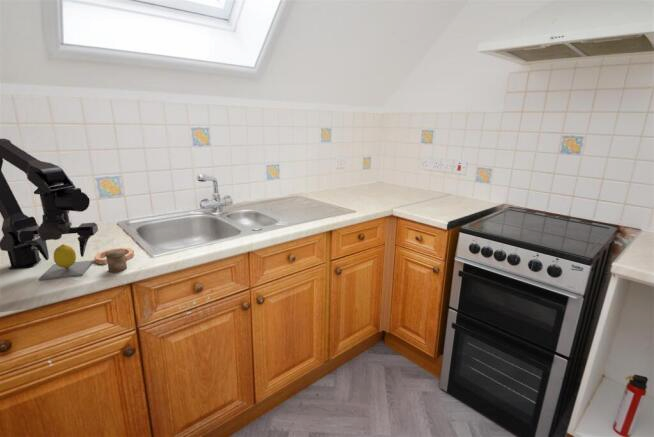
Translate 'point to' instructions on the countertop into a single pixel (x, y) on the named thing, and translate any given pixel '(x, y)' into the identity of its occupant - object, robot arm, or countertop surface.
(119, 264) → the walnut salt pot
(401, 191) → the countertop surface
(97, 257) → the c ring
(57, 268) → the slate coaster
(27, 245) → the robot arm
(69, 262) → the lemon
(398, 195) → the countertop surface
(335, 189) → the countertop surface
